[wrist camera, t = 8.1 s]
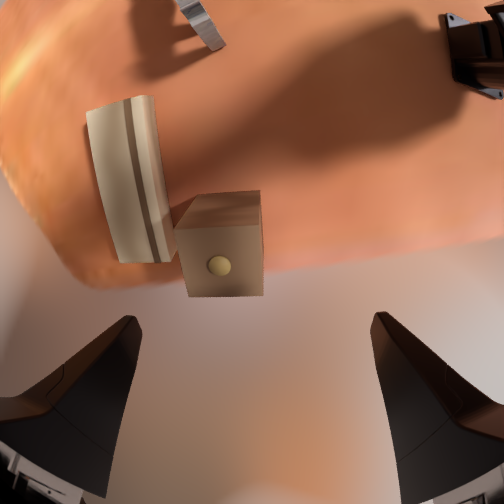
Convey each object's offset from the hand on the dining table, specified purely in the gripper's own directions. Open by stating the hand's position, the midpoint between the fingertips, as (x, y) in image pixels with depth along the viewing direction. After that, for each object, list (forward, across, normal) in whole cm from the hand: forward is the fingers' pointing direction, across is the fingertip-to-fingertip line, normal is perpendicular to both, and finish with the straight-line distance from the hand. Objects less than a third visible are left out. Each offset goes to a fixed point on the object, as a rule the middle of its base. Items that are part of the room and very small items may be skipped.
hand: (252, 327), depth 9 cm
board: (+12, +9, -3) cm, 15 cm away
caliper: (+12, +6, -21) cm, 25 cm away
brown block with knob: (+12, +2, +1) cm, 12 cm away
